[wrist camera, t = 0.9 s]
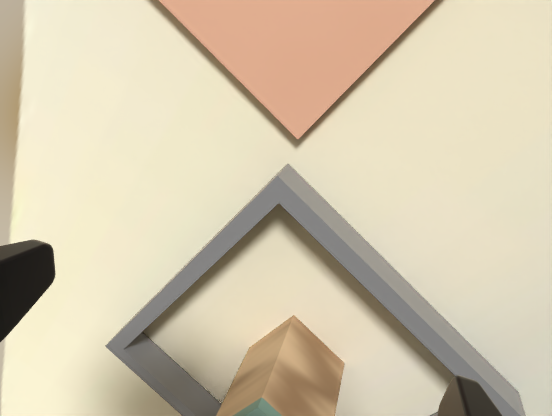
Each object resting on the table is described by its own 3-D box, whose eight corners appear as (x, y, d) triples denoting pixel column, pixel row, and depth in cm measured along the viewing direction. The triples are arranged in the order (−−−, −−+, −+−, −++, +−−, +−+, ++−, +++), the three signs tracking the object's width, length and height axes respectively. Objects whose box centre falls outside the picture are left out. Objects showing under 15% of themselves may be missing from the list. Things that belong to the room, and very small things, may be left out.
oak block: (344, 363, 26) (324, 468, 20) (296, 391, 28) (265, 495, 22) (294, 315, 26) (257, 407, 20) (249, 347, 28) (204, 440, 22)
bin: (518, 392, 23) (527, 422, 22) (300, 488, 32) (293, 515, 30) (287, 163, 22) (277, 175, 20) (122, 327, 30) (105, 346, 29)
